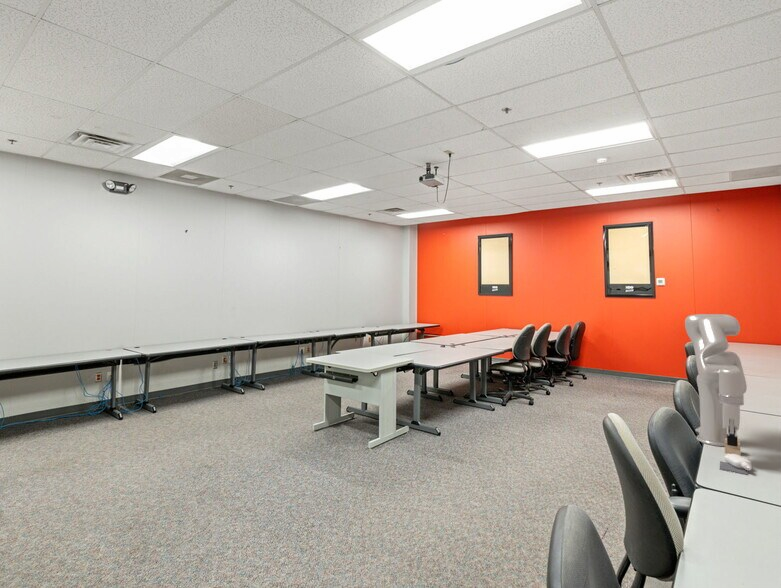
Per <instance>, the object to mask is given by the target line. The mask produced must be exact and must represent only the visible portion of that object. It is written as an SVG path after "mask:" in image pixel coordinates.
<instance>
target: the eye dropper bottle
mask: <svg viewBox="0 0 781 588" xmlns="http://www.w3.org/2000/svg"><path fill="white" fill-rule="evenodd" d="M740 455H741V454H740ZM740 455H737V454H727V453H726V454H725V455H724V462H727V463H730V464H731V465H733V466H735V467H737V468H740V469H745V470H747V472H748V471H751V470H752V469H753V467H752V461H751V460H749V459H747V458H745V457H743V456H742V455H741V456H740Z"/></svg>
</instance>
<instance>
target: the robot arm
mask: <svg viewBox="0 0 781 588" xmlns="http://www.w3.org/2000/svg"><path fill="white" fill-rule="evenodd" d="M740 325H741V324H740V323H739V321H738V319H737V318H736V317H735V316H732V315H730V314H726V313H725V314H724V313H723V314H722V313H721V314H720V313H715V314H713V313H711V314H709V313H707V314H706V313H698V314H690V315H688V316H686V318H685V320H684V326H685V327H684V328H685V332H686V334H687V336H688V337H689V339H690V341H691V343H692V345H693V350H694V355H695V359H696V360H695V362H696V363H695V364H696V369H697V373H698V374H697V376H696V384H697V388H698V389H697V390H698V398H699V417H700V419H699V420H700V421H699V422H700V423H699V424H700V425H699V426H698V427H697V428H695V432H697V433H698V435H696V440H697V441H698V442H701V443H703V444H706V445H710V446H716V447H725V438H726V439H727V445H729V446H735V447H737V446H738V434H737V432H738V431H739V429H740V422H741V421H740V420H741V406H744V403H745V401H744V400H745V397H744V396H745V395H744V394H746V392H747V387H748V385H747V379H746V376H745V373H744V369H743V365H742V361H741V359H740V357H739V355H738V354H737V353H736V352H733V351H727V350H728V348H729V346H730V345H729V342H728V339H727V336H733V337H735V336H737V335H738V334H740V333H741V332H740V331H741V326H740Z"/></svg>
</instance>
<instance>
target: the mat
mask: <svg viewBox="0 0 781 588" xmlns="http://www.w3.org/2000/svg"><path fill="white" fill-rule="evenodd" d="M720 469H723V470H722V471H724V470H727V471H726V472H729V471H731V472H730V473H734V472H735V473H736V474H740V475H745V476H748V470H745V469H740V468H737V467H735V466H733V465H731V464H730V463H728V462H726V461H722V460H721V461H719V470H720Z"/></svg>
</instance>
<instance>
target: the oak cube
mask: <svg viewBox="0 0 781 588" xmlns="http://www.w3.org/2000/svg"><path fill="white" fill-rule="evenodd" d="M727 453H729V454H737V455H740V456H742V455H741V440H738V446H737V447H735V446H729V445H727V439H726V438H725V446H724V454H727Z"/></svg>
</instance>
